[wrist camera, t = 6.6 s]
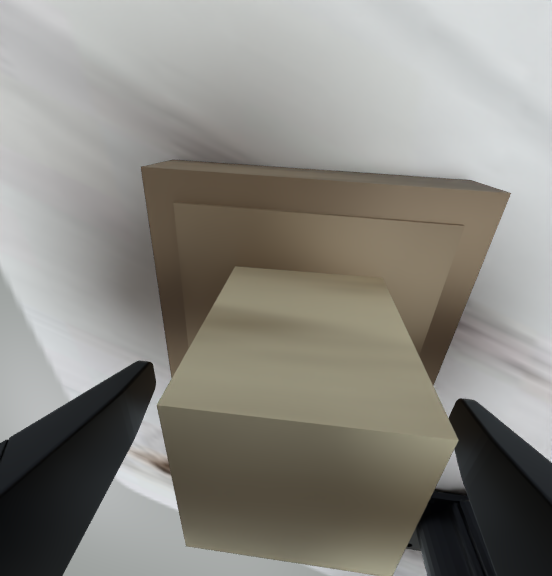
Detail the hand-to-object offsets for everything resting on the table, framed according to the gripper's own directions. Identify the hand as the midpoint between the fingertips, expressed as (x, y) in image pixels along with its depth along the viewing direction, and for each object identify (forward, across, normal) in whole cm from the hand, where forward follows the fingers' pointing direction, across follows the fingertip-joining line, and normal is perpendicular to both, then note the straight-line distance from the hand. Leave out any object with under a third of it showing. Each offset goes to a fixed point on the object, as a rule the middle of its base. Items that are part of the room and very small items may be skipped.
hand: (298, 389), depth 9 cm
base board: (+6, 0, 0) cm, 6 cm away
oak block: (+3, 0, 0) cm, 3 cm away
